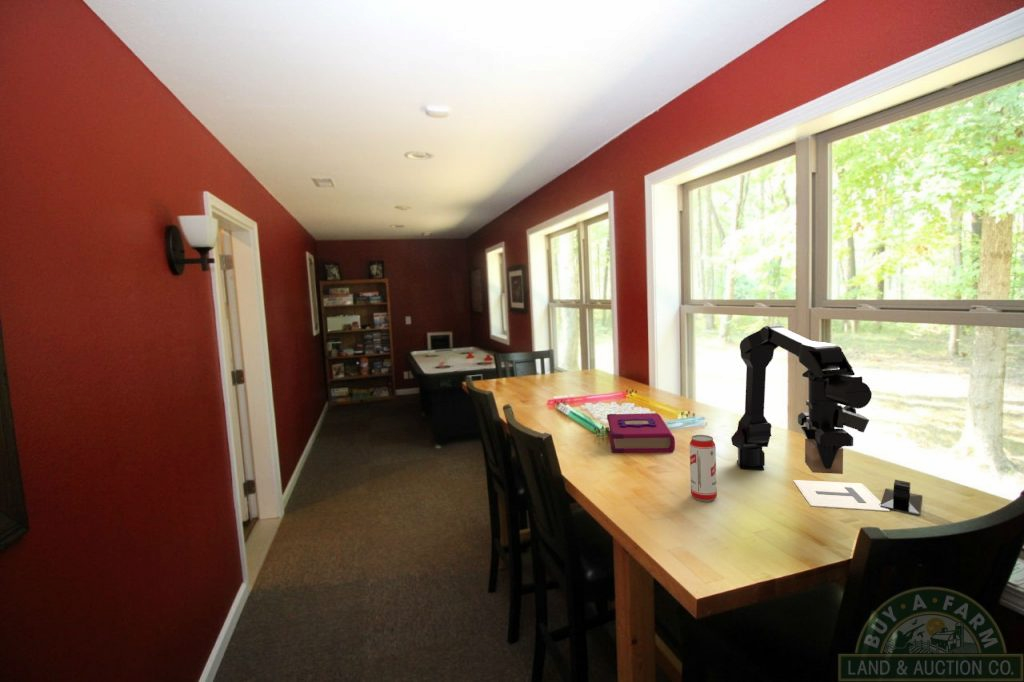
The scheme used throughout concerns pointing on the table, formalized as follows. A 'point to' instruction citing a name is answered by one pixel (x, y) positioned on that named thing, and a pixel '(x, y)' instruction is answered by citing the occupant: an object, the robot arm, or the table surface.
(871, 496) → the letter tile
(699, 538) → the table surface
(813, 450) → the cube
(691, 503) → the table surface
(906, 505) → the black stand
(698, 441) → the beer can
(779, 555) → the table surface
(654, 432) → the book
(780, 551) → the table surface
